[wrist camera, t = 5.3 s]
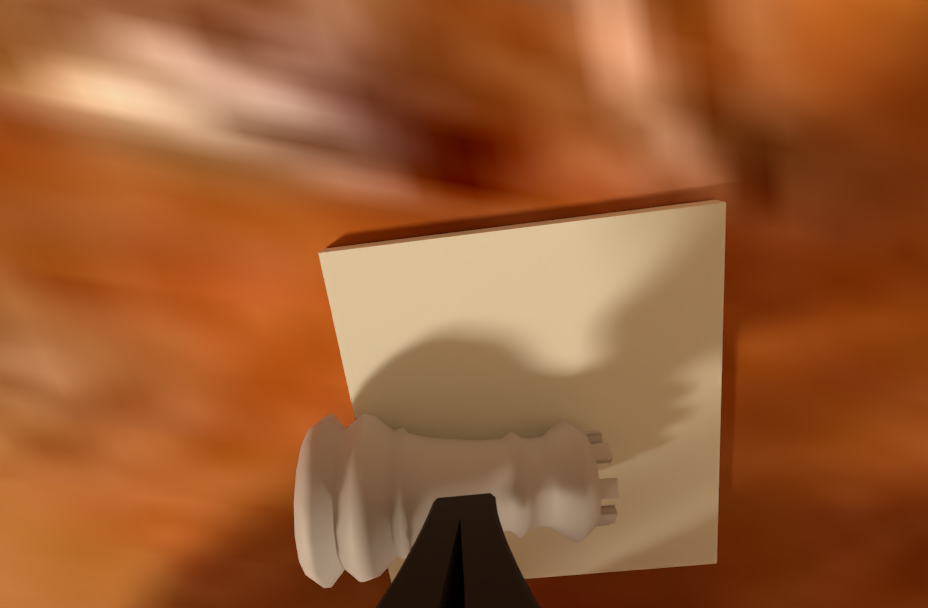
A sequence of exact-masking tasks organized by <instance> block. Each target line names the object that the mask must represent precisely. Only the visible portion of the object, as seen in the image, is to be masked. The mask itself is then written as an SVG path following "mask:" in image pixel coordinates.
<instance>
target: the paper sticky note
mask: <svg viewBox="0 0 928 608" xmlns="http://www.w3.org/2000/svg"><path fill="white" fill-rule="evenodd" d="M725 230H726V202H723V201H720V200H709V201H701V202H693V203H685V204H677V205H669V206H661V207H653V208H645V209H637V210H629V211H621V212H613V213H605V214H597V215H589V216H581V217H573V218H565V219H557V220H549V221H541V222H533V223H525V224H517V225H509V226H501V227H493V228H485V229H477V230H469V231H461V232H453V233H445V234H437V235H429V236H421V237H413V238H405V239H397V240H389V241H381V242H373V243H365V244H357V245H349V246H341V247H333V248H325V249H323V250H322V251H321V252H319V253H318V254H319V258H320V263H321V267H322V272H323V276H324V281H325V285H326V290H327V294H328V299H329V303H330V308H331V312H332V317H333V321H334V326H335V330H336V335H337V339H338V344H339V348H340V353H341V357H342V362H343V366H344V371H345V376H346V380H347V385H348V389H349V394H350V398H351V403H352V407H353V412H354V416H355V420H356V419H357V418H358V417H359V416H361V415H362V414H368V415H372V416H377V417H378V418H380V419H381V420H382V421H383V422H384V423H386V424H387V425H388V426H389V427H390V428H392V429H393V430H396V429H398V428H401V427H404V429H405V430H406V431H407V432H408V433H412V434H417V435H422V436H426V437H432V438H447V439H461V440H489V439H502V438H503V437H504V436H505V435H506V434H507V433H508V432H509V431H512V432H513V433H515V434H516V435H518V436H519V437H521V438H535V437H540V436H542V435H543V434H544V433H546V432H547V431H548V430H549V429H550V428H552V427H553V426H554V425H555V424H556V423H557V422H559V421H560V420H561V419H563V420H564V421H566V422H568V423H569V424H571V425H573V426H574V427H576V428H577V429H579V430H580V431H593V430H597V431H599V432H601V433H602V443H608V445H609V447H610V450H611V453H612V456H613V460H612V462H611V463H603V464H597V468H598V473H599V479H604V478H617V481H618V493H619V498H612V499H601V506H607V505H615V508H616V510H617V513H618V515H617V518H616V521H615V524H610V525H606V526H596V527H595V528H594V529H593V530H592V531H591V532H590V533H589V534H588V535H587V537H586V538H585V539H584V540H583V541H582V542H579V543H575V542H574V541H572V540H571V539H569V538H567V537H566V536H564V535H562V534H561V533H559V532H558V531H556V530H554V529H553V528H551V527H536V528H532V529H530V530H529V531H528V532H527V533H526V534H525V535H524V536H523V537H522V538H519V537H518V536H516V535H515V534H513V533H512V532H510V531H503V532H504V535H505V537H506V540H507V542H508V545H509V547H510V549H511V552H512V554H513V556H514V558H515V561H516V563H517V565H518V567H519V569H520V571H521V573H522V575H523V577H524V579H530V578H543V577H555V576H568V575H580V574H593V573H605V572H618V571H630V570H643V569H655V568H668V567H680V566H693V565H705V564H717V544H718V505H719V465H720V426H721V387H722V348H723V309H724V269H725ZM595 444H596V443H595ZM404 561H405V559H402V558H398V557H397V558H396V559H395V560H394V562H393V563H392V564H391V565H390V566H389V567H388V570H389V574H390V579H391V583H392V581H393V580H394V578H395V577H396V575H397V573H398V572H399V570H400V568H401V566H402V564H403V563H404Z"/></svg>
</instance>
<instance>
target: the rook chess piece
mask: <svg viewBox="0 0 928 608" xmlns="http://www.w3.org/2000/svg"><path fill="white" fill-rule="evenodd" d="M595 443H596V444H595ZM612 460H613V456H612V453H611V450H610V447H609V445H608V443H602V433H601V432H599V431H597V430H593V431H580V430H579V429H577V428H576V427H574V426H573V425H571V424H569V423H568V422H566V421H564V420H563V419H561V420H560V421H559V422H557V423H556V424H555V425H554V426H553V427H552V428H550V429H549V430H548V431H547V432H546V433H544V434H543V435H542V436H540V437H535V438H521V437H519V436H518V435H516V434H515V433H513V432H512V431H509V432H508V433H507V434H506V435H505V436H504V437H503V438H502V439H489V440H461V439H447V438H432V437H426V436H422V435H417V434H412V433H408V432H407V431H406V430H405V429H404V427H401V428H398V429H396V430H393V429H392V428H390V427H389V426H388V425H387V424H386V423H384V422H383V421H382V420H381V419H380V418H378V417H377V416H372V415H368V414H362V415H361V416H359V417H358V418H357V419H356V420H355V421H354V422H352V423H351V424H350V425H349V426H348V427H347V428H346V427H345V426H344V425H343V424H342V423H341V422H340V421H339V420H338V419H337V418H336V417H335V416H334V414H333V413H331V414H330V415H328V416H326V417H325V418H323V419H322V420H321V421H319V422H318V423H317V424H315V425H314V426H313V427H311V428H310V429H309V430H308V431H307V433H306V436H305V438H304V440H303V443H302V445H301V450H300V455H299V460H298V465H297V470H296V481H295V494H294V529H295V541H296V547H297V553H298V559H299V563H300V565H301V567H302V569H303V571H304V573H305V575H306V576H308V577H309V578H310V579H312V580H313V581H315V582H316V583H317V584H319V585H320V586H322V587H323V588H331V587H332V586H333V585H334V583H335V582H336V581H337V579H338V578H339V577H340V575H341V574H342V573H343V571H344V570H346V571H347V572H348V573H350V574H351V575H352V576H353V577H354V578H356V579H357V580H358V581H359V582H366V581H369V580H371V579H374V578H376V577H379V576H381V575H382V573H383V572H384V571H385V570H386V569H387V568H388V567H389V566H390V565H391V564H392V563H393V562H394V560H395V559H396V558H397V557H398V558H402V559H406V557H407V555H408V554H409V552H410V550H411V548H412V546H413V544H414V543H415V541H416V539H417V537H418V535H419V533H420V531H421V529H422V526H423V524H424V522H425V520H426V518H427V516H428V513H429V511H430V509H431V506H432V504H433V502H434V501H435V500H436V499H437V498H442V497H453V496H464V495H474V494H485V493H491V494H492V495H493V496H495V497H496V505H497V512H498V516H499V520H500V523H501V526H502V529H503V531H510V532H512V533H513V534H515V535H516V536H518V537H519V538H522V537H523V536H524V535H525V534H526V533H527V532H528V531H529V530H530V529H532V528H536V527H551V528H553V529H554V530H556V531H558V532H559V533H561V534H562V535H564V536H566V537H567V538H569V539H571V540H572V541H574V542H575V543H579V542H582V541H583V540H584V539H585V538H586V537H587V535H588V534H589V533H590V532H591V531H592V530H593V529H594V528H595V527H596V526H606V525H610V524H615V521H616V518H617V515H618V513H617V510H616V508H615V505H607V506H601V499H612V498H619V493H618V481H617V478H604V479H599V473H598V468H597V464H603V463H611V462H612Z"/></svg>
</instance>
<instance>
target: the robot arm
mask: <svg viewBox="0 0 928 608" xmlns="http://www.w3.org/2000/svg"><path fill="white" fill-rule="evenodd" d="M376 608H540V607H539V605H538V603H537V601H536V600H535V598H534V596H533V594H532V592H531V591H530V589H529V587H528V585H527V583H526V581H525V579H524V577H523V575H522V573H521V571H520V569H519V567H518V565H517V563H516V561H515V558H514V556H513V554H512V552H511V549H510V547H509V545H508V542H507V540H506V537H505V535H504V532H503V529H502V526H501V523H500V520H499V516H498V512H497V505H496V497H495V496H493V495H492V494H491V493H485V494H474V495H464V496H453V497H442V498H437V499H436V500H435V501H434V502H433V504H432V506H431V509H430V511H429V513H428V516H427V518H426V520H425V522H424V524H423V526H422V529H421V531H420V533H419V535H418V537H417V539H416V541H415V543H414V544H413V546H412V548H411V550H410V552H409V554H408V555H407V557H406V559H405V561H404V563H403V564H402V566H401V568H400V570H399V572H398V573H397V575H396V577H395V578H394V580H393V581H392V583H391V585H390V586H389V588H388V589H387V591H386V593H385V594H384V596H383V597H382V599H381V600H380V602H379V604H378V605H377V607H376Z"/></svg>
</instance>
